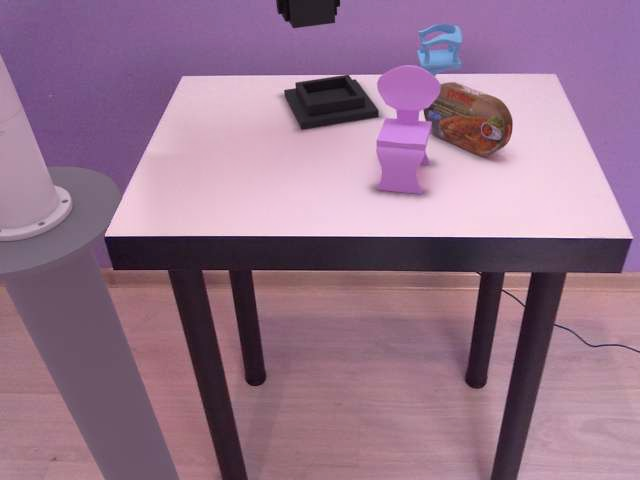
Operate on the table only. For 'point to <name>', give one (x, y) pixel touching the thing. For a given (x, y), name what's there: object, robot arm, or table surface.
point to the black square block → (311, 12)
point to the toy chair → (405, 126)
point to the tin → (470, 119)
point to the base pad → (329, 102)
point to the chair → (440, 58)
